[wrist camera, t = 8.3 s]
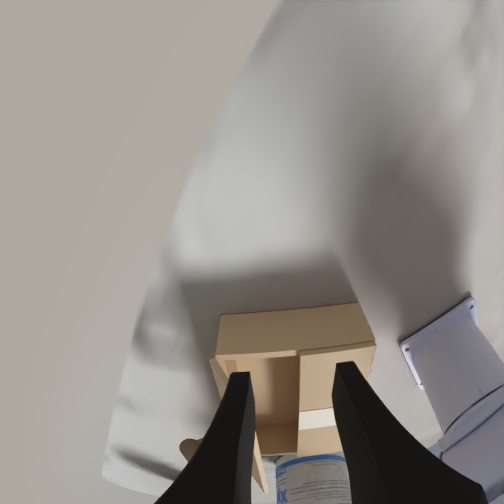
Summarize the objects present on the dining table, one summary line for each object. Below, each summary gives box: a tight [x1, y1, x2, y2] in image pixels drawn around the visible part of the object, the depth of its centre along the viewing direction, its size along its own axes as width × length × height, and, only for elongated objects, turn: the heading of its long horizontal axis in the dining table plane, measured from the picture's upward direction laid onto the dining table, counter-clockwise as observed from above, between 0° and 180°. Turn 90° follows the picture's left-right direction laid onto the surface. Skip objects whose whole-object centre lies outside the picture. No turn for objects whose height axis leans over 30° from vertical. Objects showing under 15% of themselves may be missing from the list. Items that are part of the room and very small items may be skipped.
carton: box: [215, 302, 376, 457], centre depth 23 cm, size 10×16×4 cm, turn 6°
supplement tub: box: [276, 451, 352, 504], centre depth 27 cm, size 10×10×15 cm
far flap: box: [179, 357, 269, 494], centre depth 18 cm, size 5×16×5 cm
